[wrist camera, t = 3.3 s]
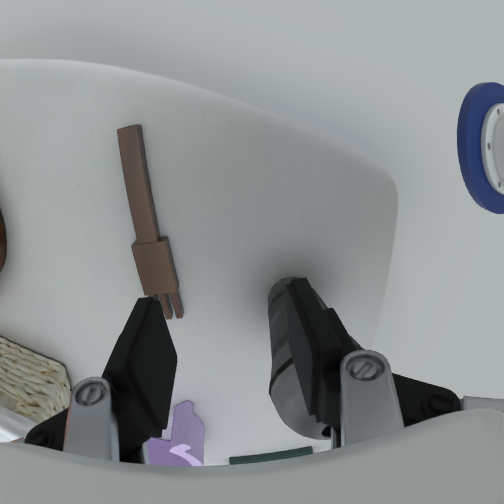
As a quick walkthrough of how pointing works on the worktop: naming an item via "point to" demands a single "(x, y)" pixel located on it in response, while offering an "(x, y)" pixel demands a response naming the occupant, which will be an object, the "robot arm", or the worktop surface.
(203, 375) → the worktop surface
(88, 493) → the robot arm
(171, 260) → the salad fork
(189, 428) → the clip
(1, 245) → the food container
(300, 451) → the utensil rack
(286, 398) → the beverage cup
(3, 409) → the basket
